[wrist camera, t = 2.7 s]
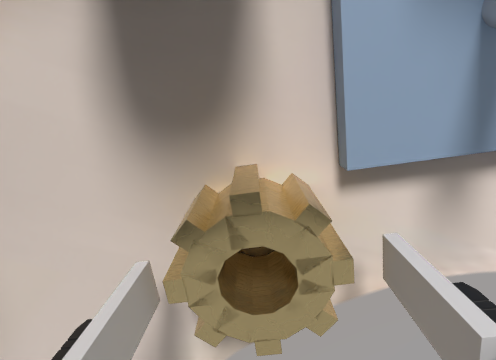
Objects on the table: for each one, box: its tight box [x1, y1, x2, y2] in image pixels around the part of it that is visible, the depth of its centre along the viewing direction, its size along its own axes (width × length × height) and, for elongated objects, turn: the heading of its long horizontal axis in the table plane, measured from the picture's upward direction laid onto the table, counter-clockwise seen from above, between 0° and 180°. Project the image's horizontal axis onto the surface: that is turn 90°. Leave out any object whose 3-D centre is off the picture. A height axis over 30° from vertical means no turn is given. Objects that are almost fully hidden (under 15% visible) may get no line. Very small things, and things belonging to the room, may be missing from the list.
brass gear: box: [163, 164, 354, 356], centre depth 16 cm, size 10×10×6 cm
